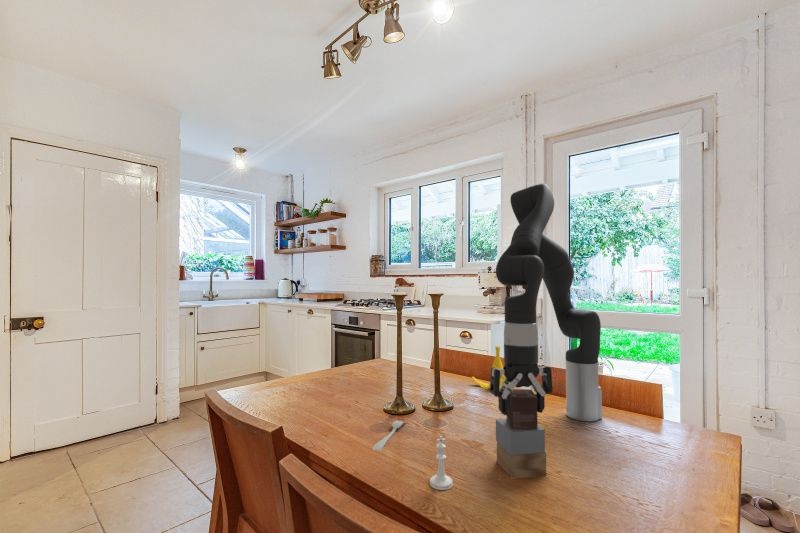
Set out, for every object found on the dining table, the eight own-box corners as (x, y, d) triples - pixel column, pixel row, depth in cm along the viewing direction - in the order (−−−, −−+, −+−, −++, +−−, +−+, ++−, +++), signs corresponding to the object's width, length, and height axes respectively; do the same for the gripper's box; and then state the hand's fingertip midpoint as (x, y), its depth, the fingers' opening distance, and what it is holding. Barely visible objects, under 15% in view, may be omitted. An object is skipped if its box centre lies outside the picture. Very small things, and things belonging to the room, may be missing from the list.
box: (538, 430, 86) (537, 397, 86) (510, 429, 87) (509, 396, 87) (532, 420, 92) (531, 389, 92) (506, 419, 93) (505, 388, 93)
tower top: (527, 437, 94) (526, 416, 94) (545, 452, 86) (544, 429, 86) (495, 440, 93) (495, 419, 93) (511, 455, 85) (511, 432, 85)
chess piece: (427, 478, 85) (427, 432, 85) (450, 477, 85) (449, 431, 86) (431, 490, 80) (431, 441, 80) (455, 489, 80) (454, 440, 81)
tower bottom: (527, 459, 94) (527, 438, 94) (546, 475, 86) (546, 452, 86) (496, 462, 92) (496, 440, 92) (512, 479, 84) (512, 456, 85)
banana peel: (519, 385, 157) (519, 343, 157) (505, 398, 141) (505, 351, 141) (480, 379, 166) (480, 340, 166) (463, 391, 150) (462, 347, 150)
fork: (370, 459, 99) (370, 449, 99) (400, 422, 119) (400, 413, 118) (380, 461, 98) (380, 450, 98) (409, 423, 118) (409, 414, 117)
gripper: (540, 338, 95) (541, 405, 94) (485, 340, 92) (485, 409, 92) (558, 343, 87) (559, 416, 87) (498, 345, 85) (499, 421, 84)
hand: (521, 412), depth 89 cm, fingers open, 8 cm apart
